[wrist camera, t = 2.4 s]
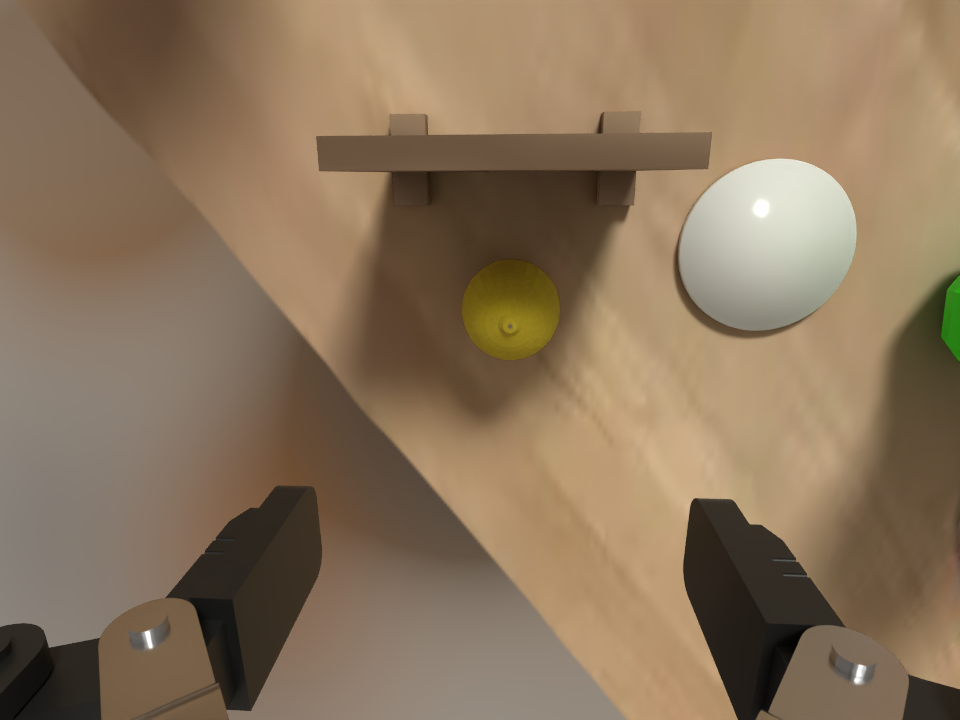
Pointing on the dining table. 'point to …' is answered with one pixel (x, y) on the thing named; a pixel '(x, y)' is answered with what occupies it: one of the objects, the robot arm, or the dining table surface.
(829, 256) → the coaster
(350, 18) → the dining table surface
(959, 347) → the plastic bottle
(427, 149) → the walnut screen
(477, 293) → the lemon
